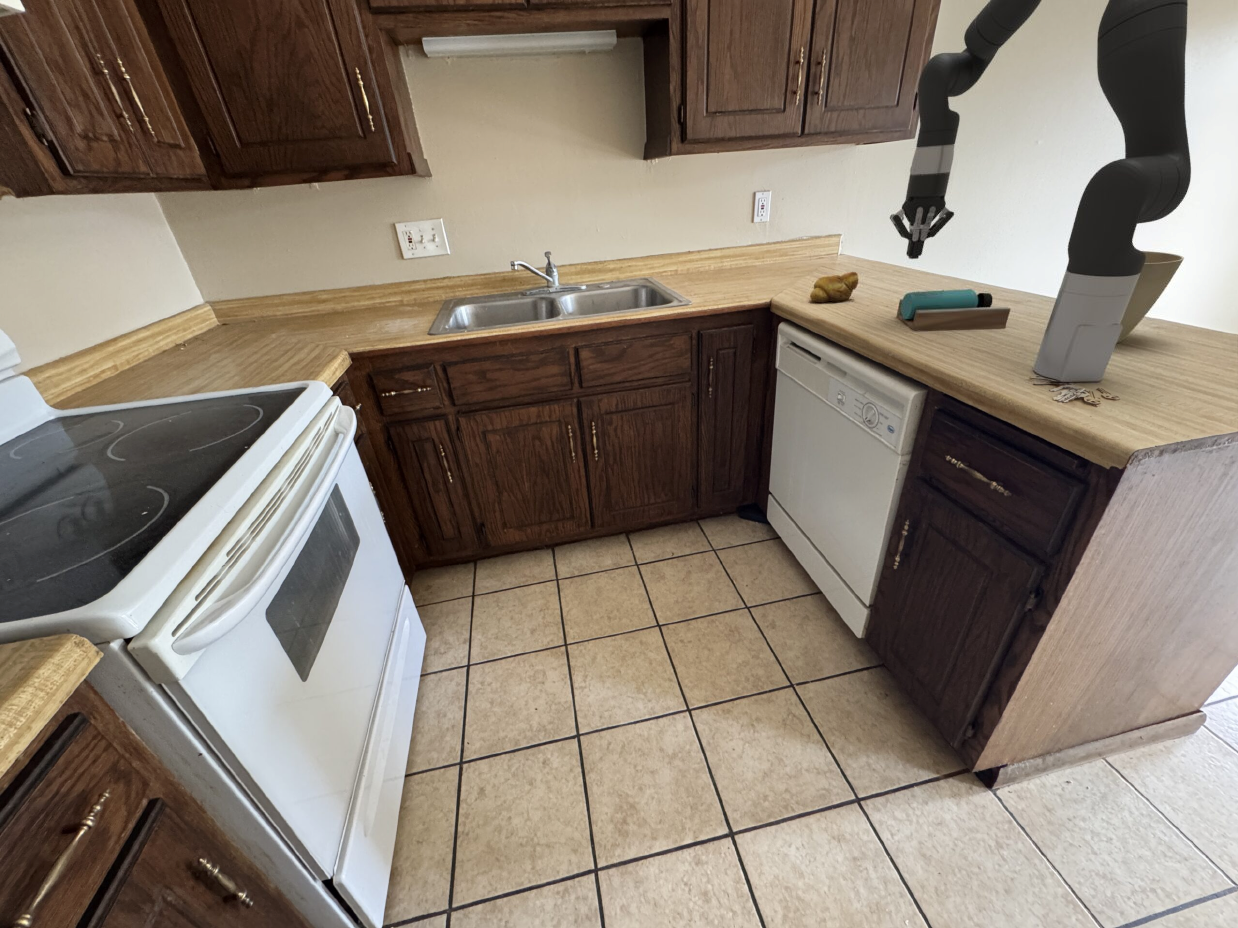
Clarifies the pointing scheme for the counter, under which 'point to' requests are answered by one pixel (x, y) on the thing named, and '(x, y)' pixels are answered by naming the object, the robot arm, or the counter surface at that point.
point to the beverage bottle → (943, 301)
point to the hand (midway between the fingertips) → (913, 258)
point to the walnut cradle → (957, 318)
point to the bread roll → (834, 287)
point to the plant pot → (1149, 288)
